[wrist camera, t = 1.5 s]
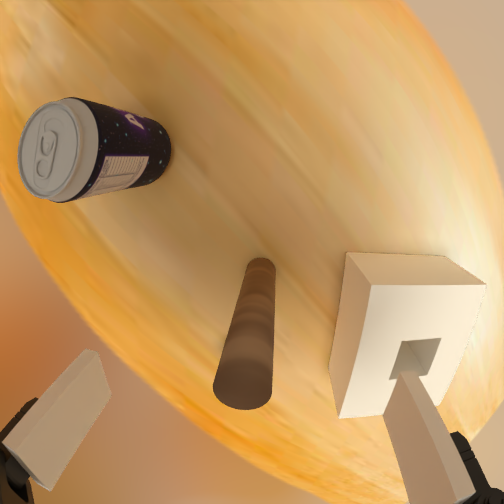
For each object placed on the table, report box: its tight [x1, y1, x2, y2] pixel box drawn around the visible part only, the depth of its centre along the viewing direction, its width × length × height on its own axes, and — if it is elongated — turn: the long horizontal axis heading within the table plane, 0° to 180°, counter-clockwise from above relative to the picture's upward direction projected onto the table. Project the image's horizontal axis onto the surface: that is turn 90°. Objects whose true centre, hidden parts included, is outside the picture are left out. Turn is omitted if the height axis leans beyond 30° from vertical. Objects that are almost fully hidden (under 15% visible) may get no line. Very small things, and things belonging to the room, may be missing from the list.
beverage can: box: [18, 97, 171, 203], centre depth 16 cm, size 6×6×12 cm
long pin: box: [213, 258, 275, 410], centre depth 17 cm, size 2×2×14 cm
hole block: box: [328, 252, 487, 419], centre depth 21 cm, size 12×10×7 cm
